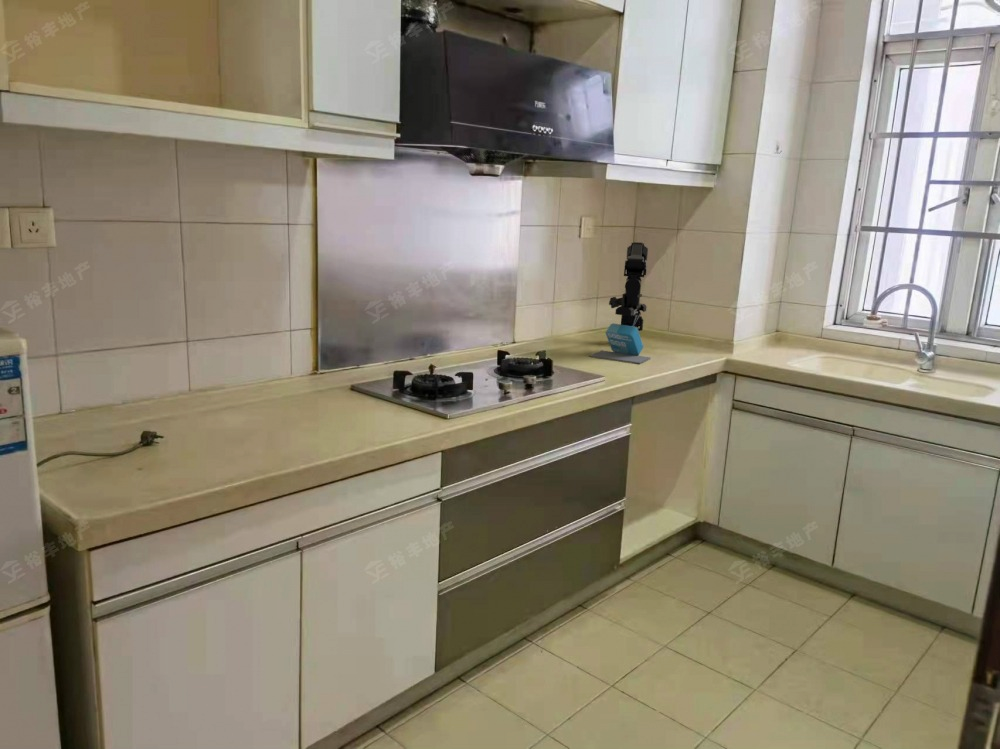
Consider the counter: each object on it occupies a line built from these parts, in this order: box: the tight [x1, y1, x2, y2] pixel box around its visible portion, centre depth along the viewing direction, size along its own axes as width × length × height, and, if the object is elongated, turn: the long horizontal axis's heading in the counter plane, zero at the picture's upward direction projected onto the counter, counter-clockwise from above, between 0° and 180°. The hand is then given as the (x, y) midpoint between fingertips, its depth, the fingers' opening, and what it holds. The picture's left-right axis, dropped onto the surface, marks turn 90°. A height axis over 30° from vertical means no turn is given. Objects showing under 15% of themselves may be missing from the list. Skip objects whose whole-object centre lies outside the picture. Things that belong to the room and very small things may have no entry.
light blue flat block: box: [605, 322, 644, 356], centre depth 289 cm, size 12×4×12 cm
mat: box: [589, 349, 651, 365], centre depth 285 cm, size 12×20×1 cm, turn 60°
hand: (629, 331), depth 290 cm, fingers closed
